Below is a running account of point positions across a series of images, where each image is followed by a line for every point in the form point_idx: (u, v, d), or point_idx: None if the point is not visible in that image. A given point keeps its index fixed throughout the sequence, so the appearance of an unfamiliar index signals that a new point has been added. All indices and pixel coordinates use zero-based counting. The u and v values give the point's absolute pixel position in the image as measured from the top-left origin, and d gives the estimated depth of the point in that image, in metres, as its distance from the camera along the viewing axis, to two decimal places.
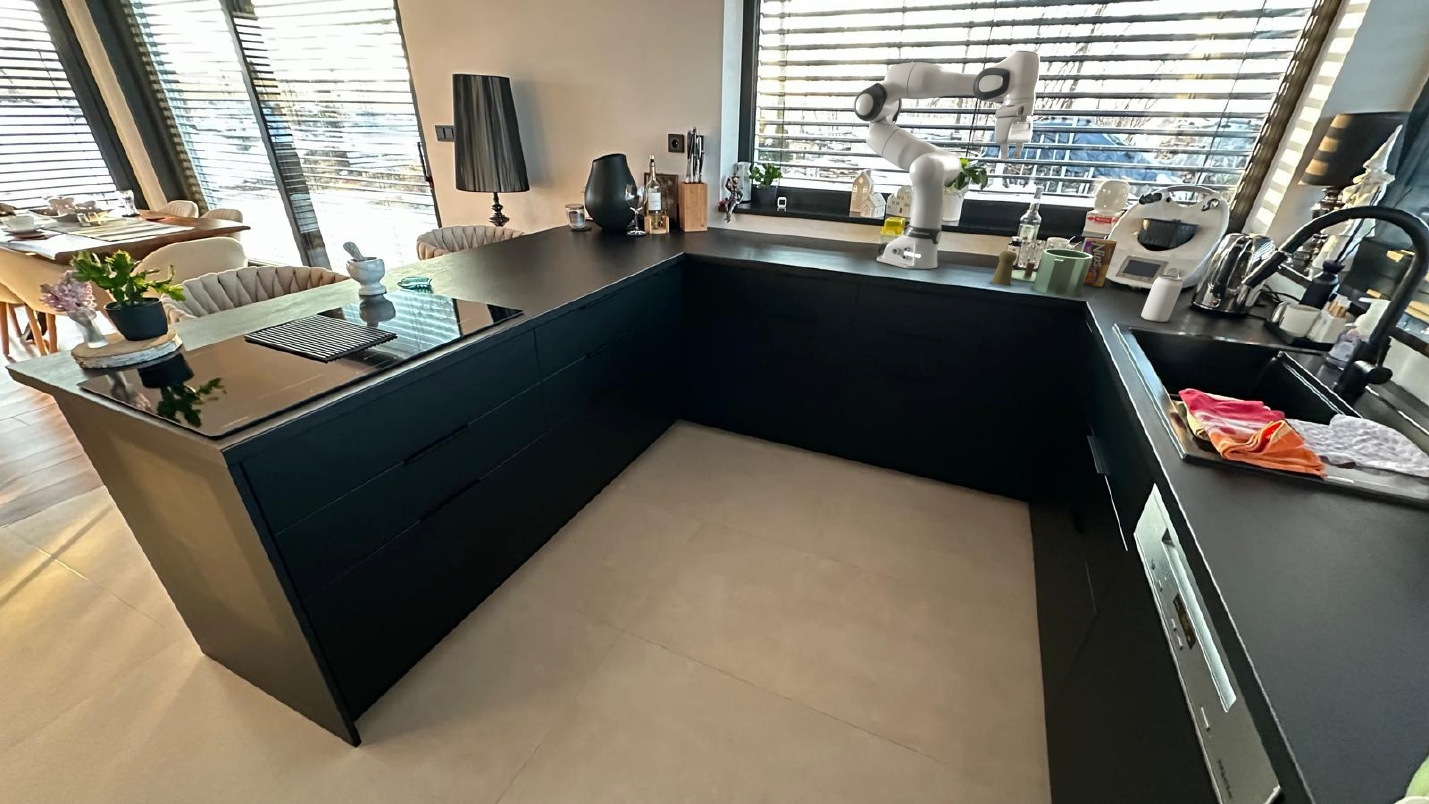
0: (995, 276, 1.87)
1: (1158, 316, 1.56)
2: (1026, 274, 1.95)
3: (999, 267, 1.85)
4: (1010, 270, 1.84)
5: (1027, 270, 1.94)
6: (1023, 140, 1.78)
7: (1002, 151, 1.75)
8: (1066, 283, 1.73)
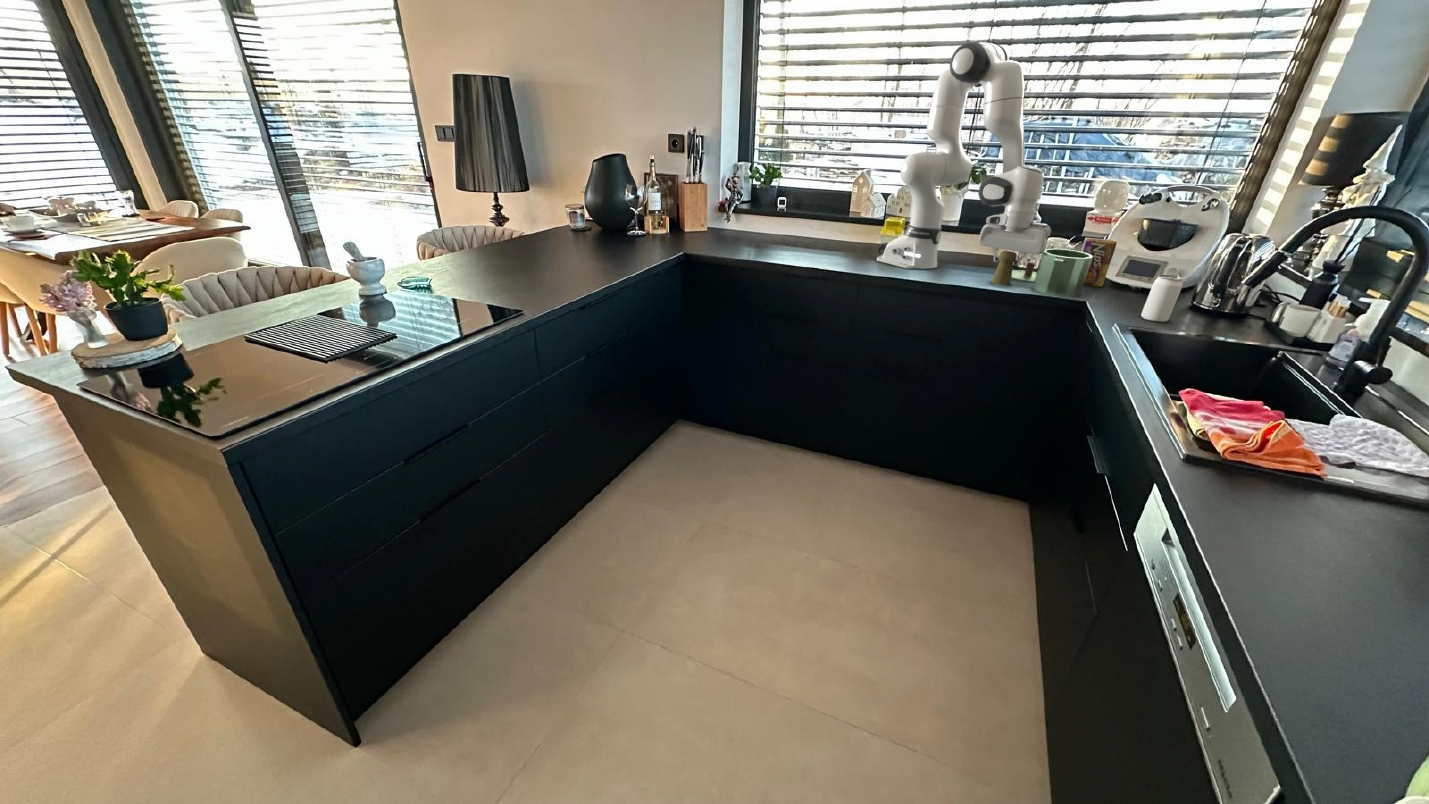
0: (995, 276, 1.87)
1: (1158, 316, 1.56)
2: (1026, 274, 1.95)
3: (999, 267, 1.85)
4: (1010, 270, 1.84)
5: (1027, 270, 1.94)
6: (1020, 250, 1.79)
7: None
8: (1066, 283, 1.73)
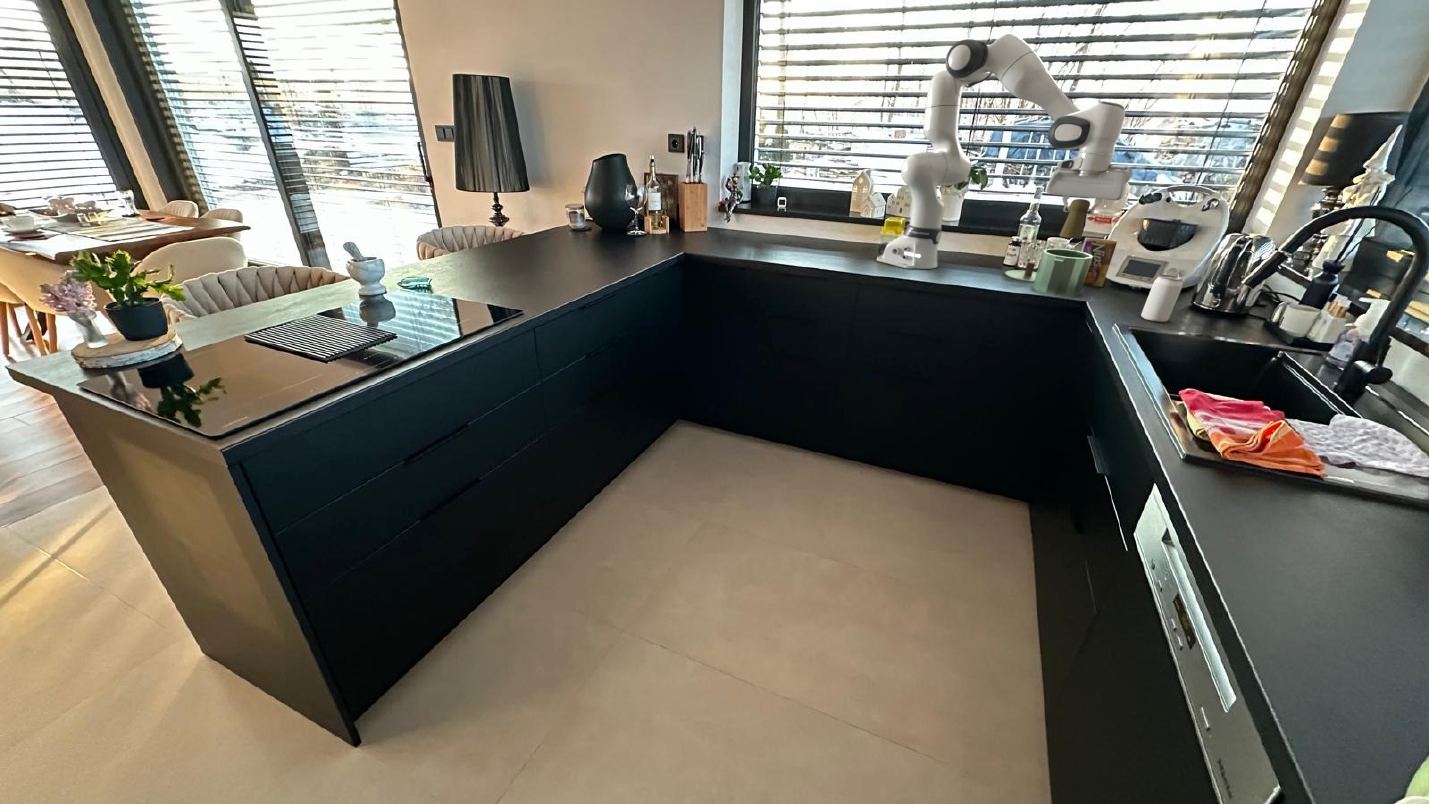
0: (1065, 227, 1.72)
1: (1158, 316, 1.56)
2: (1026, 274, 1.95)
3: (1070, 217, 1.70)
4: (1082, 220, 1.69)
5: (1027, 270, 1.94)
6: (1095, 196, 1.65)
7: None
8: (1066, 283, 1.73)
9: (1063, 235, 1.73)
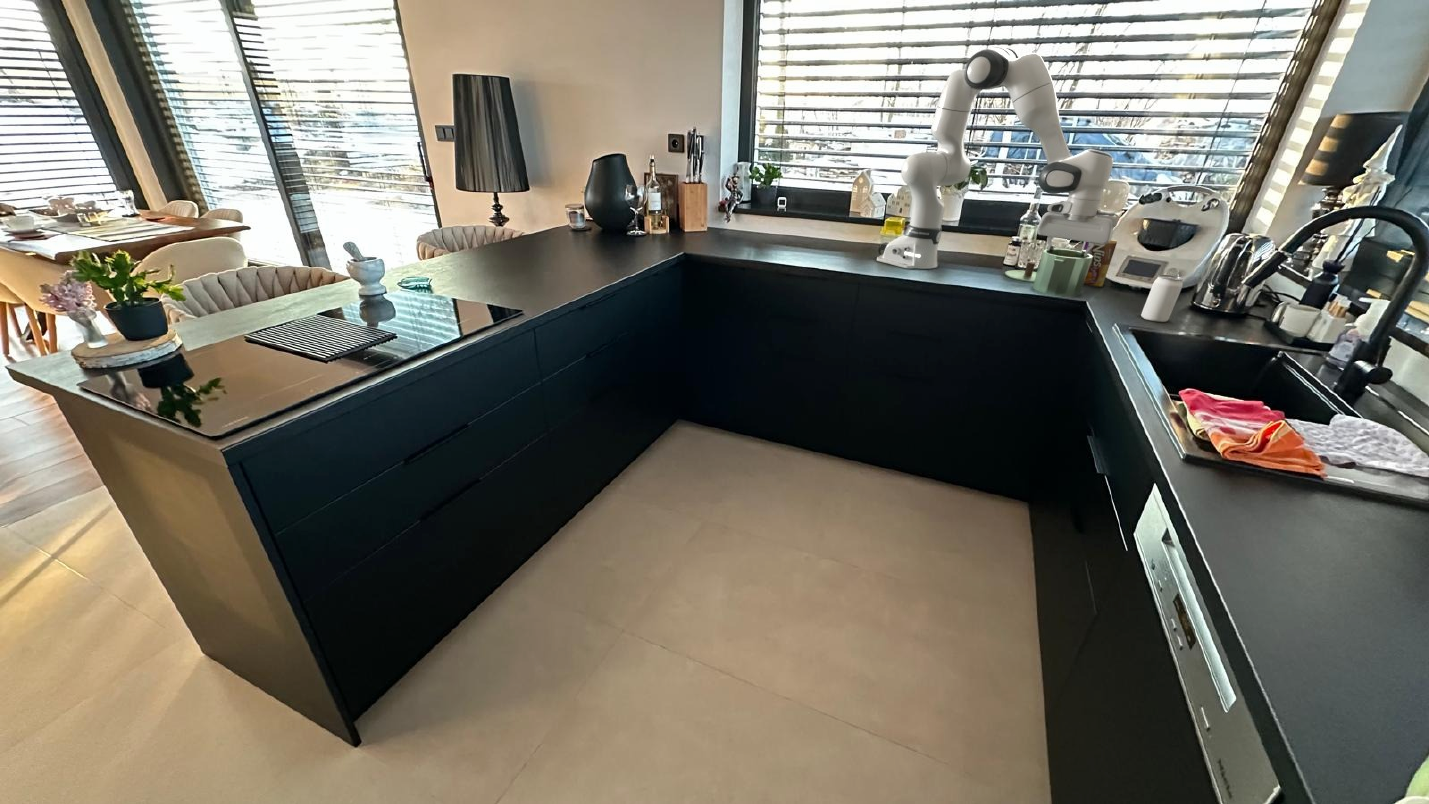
0: None
1: (1158, 316, 1.56)
2: (1026, 274, 1.95)
3: None
4: None
5: (1027, 270, 1.94)
6: (1083, 239, 1.70)
7: None
8: (1066, 283, 1.73)
9: None
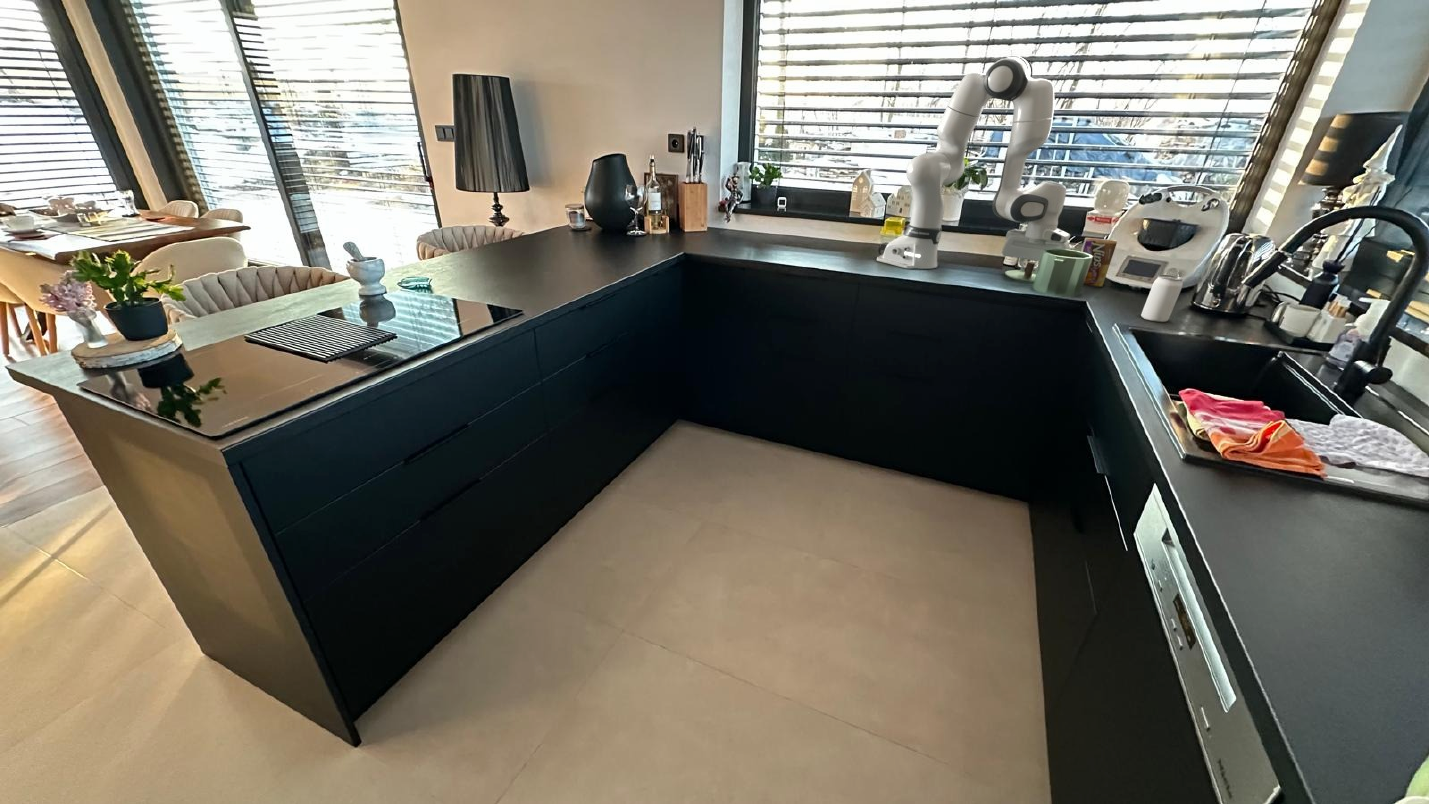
0: None
1: (1158, 316, 1.56)
2: (1026, 274, 1.95)
3: None
4: None
5: (1027, 270, 1.94)
6: None
7: None
8: (1066, 283, 1.73)
9: None
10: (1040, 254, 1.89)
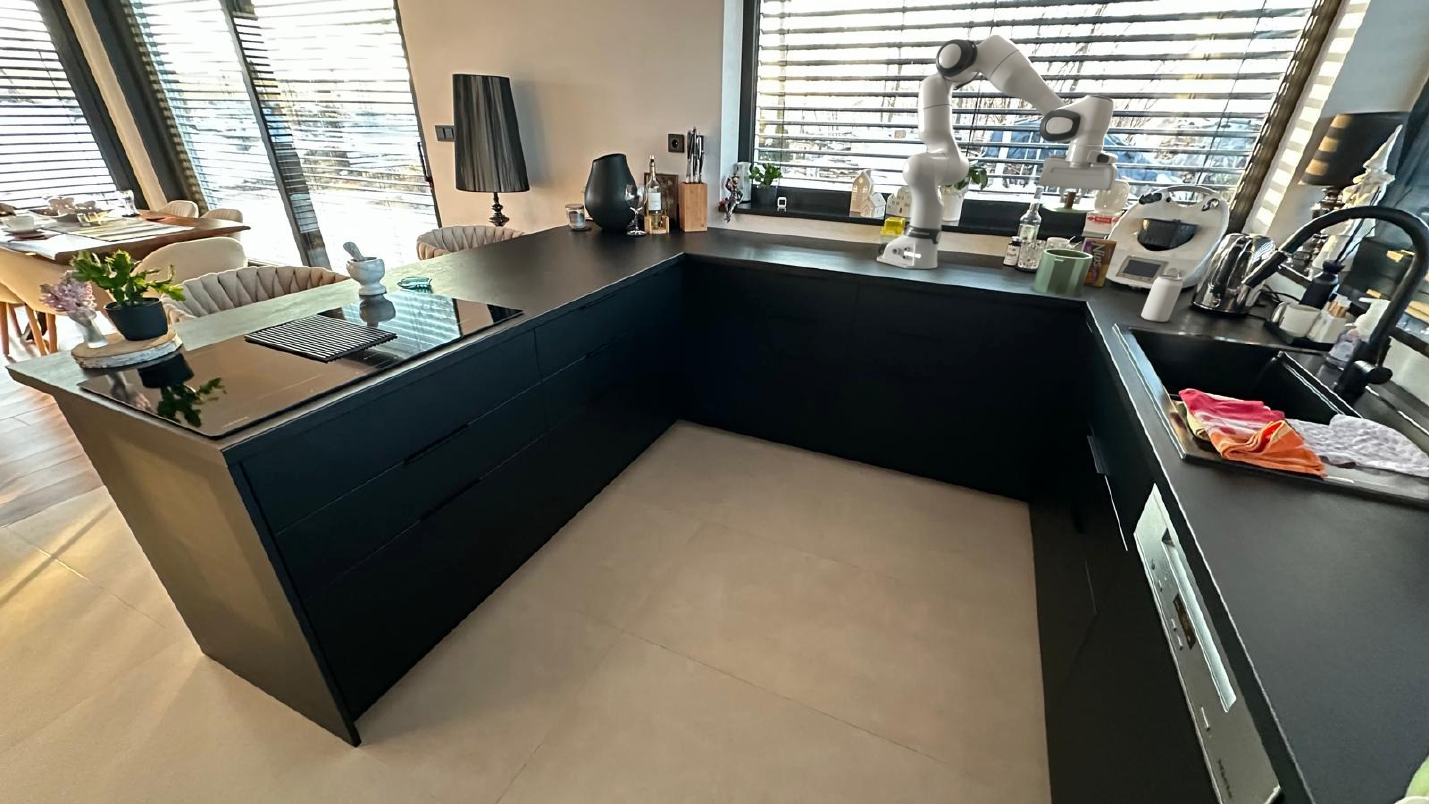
0: None
1: (1158, 316, 1.56)
2: (1066, 205, 1.75)
3: None
4: None
5: (1068, 200, 1.74)
6: None
7: (1082, 196, 1.72)
8: (1066, 283, 1.73)
9: None
10: (1083, 180, 1.69)
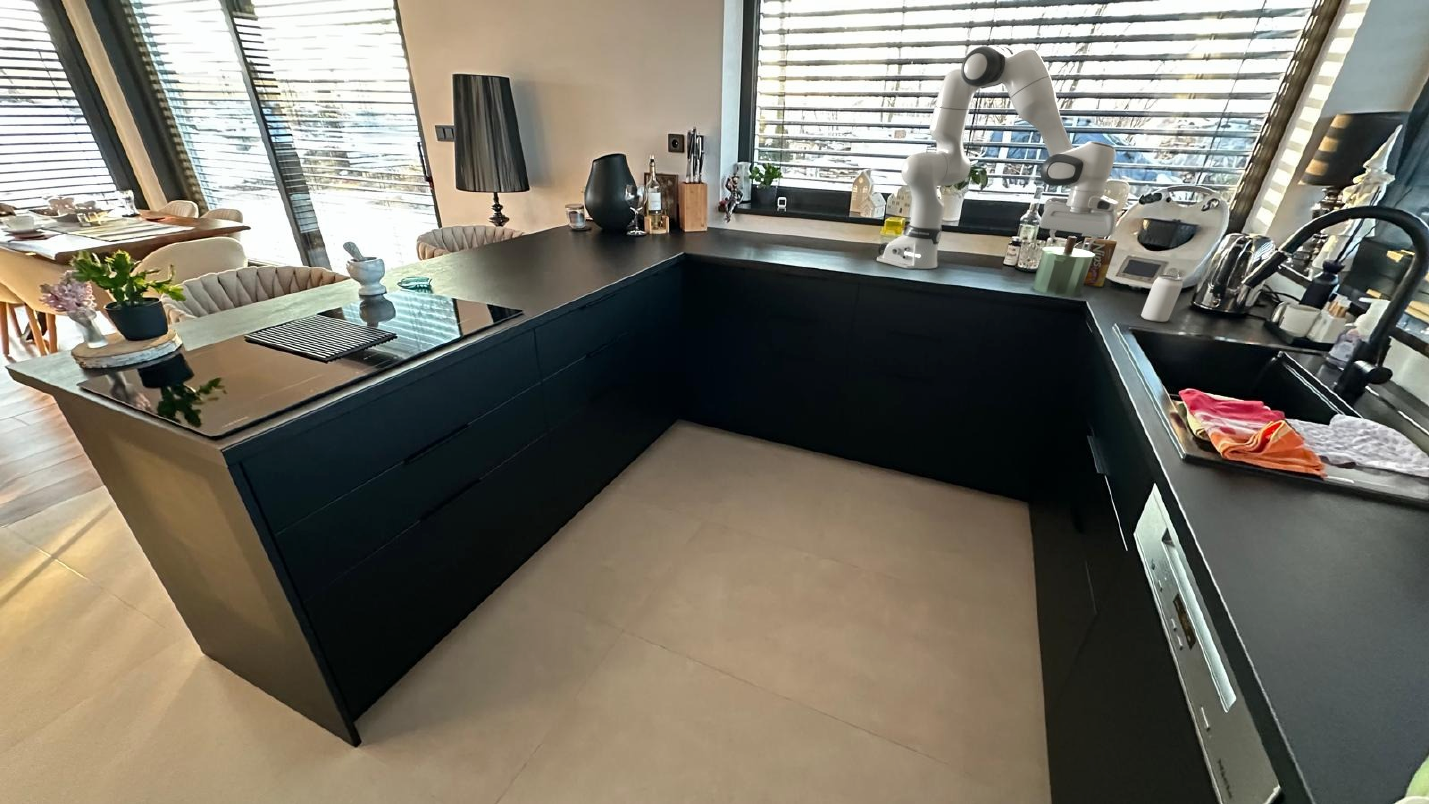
0: None
1: (1158, 316, 1.56)
2: (1066, 250, 1.75)
3: None
4: None
5: (1068, 245, 1.74)
6: None
7: (1092, 242, 1.70)
8: (1066, 283, 1.73)
9: None
10: (1084, 225, 1.69)
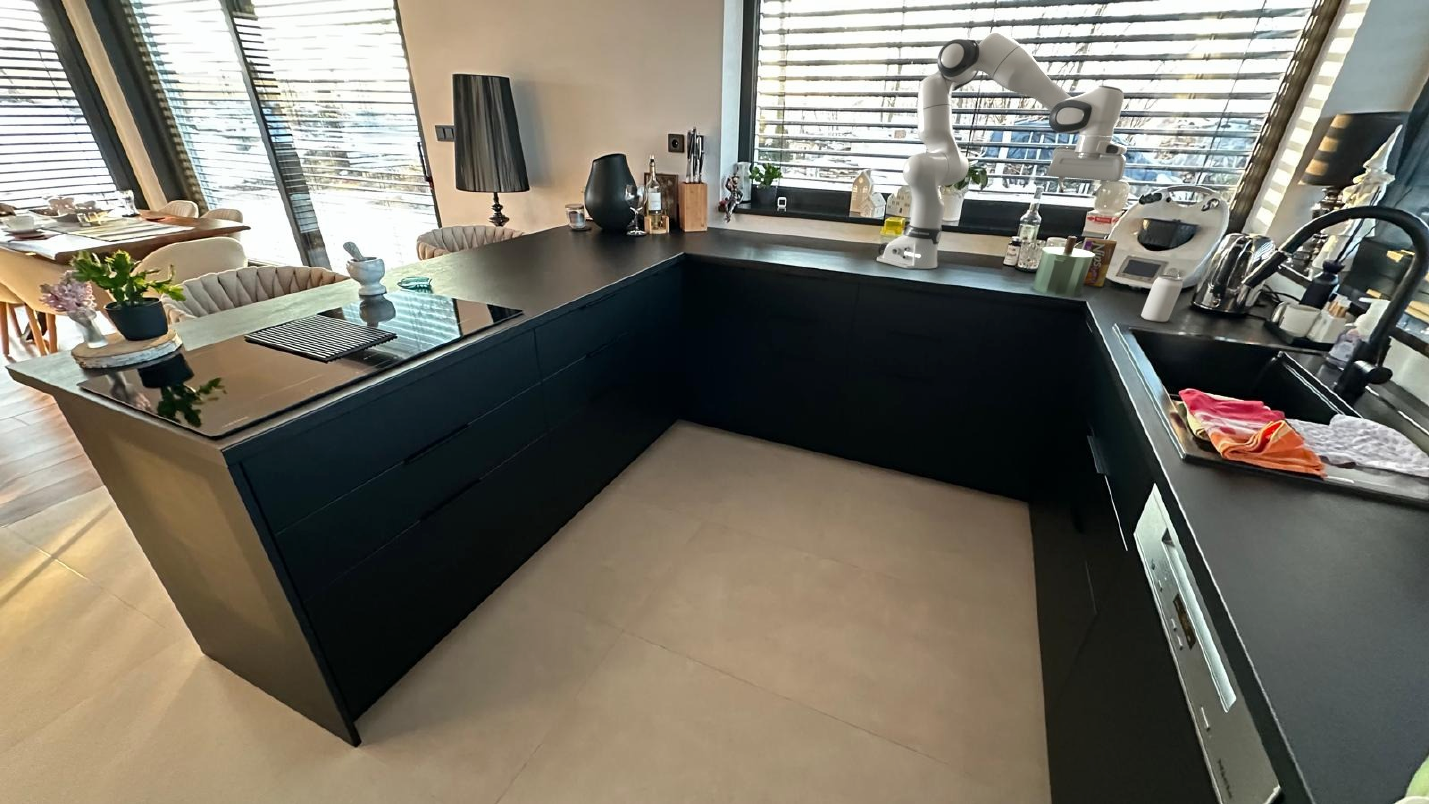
0: None
1: (1158, 316, 1.56)
2: (1066, 250, 1.75)
3: None
4: None
5: (1068, 245, 1.74)
6: None
7: (1101, 188, 1.71)
8: (1066, 283, 1.73)
9: None
10: (1092, 171, 1.70)
